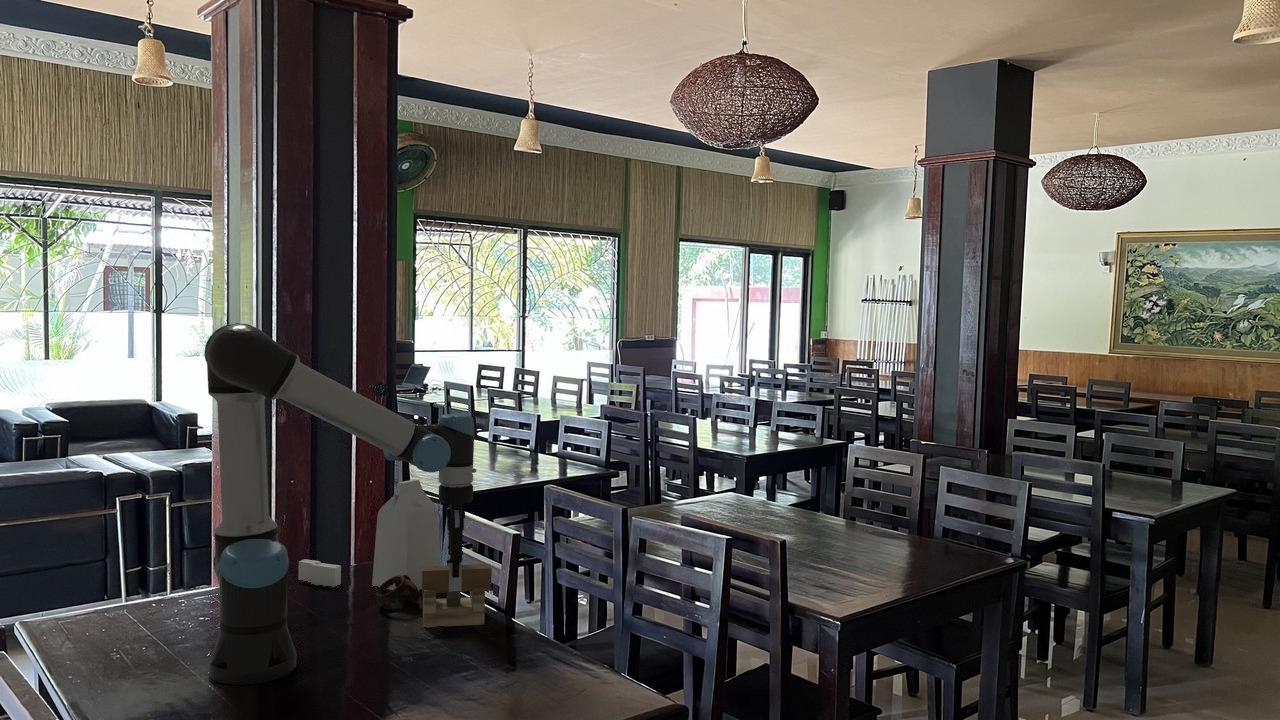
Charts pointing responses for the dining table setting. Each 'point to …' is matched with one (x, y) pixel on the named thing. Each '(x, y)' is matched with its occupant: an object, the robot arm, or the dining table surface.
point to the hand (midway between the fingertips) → (454, 587)
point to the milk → (406, 535)
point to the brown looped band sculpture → (398, 591)
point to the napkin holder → (319, 573)
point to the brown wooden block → (471, 578)
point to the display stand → (454, 609)
